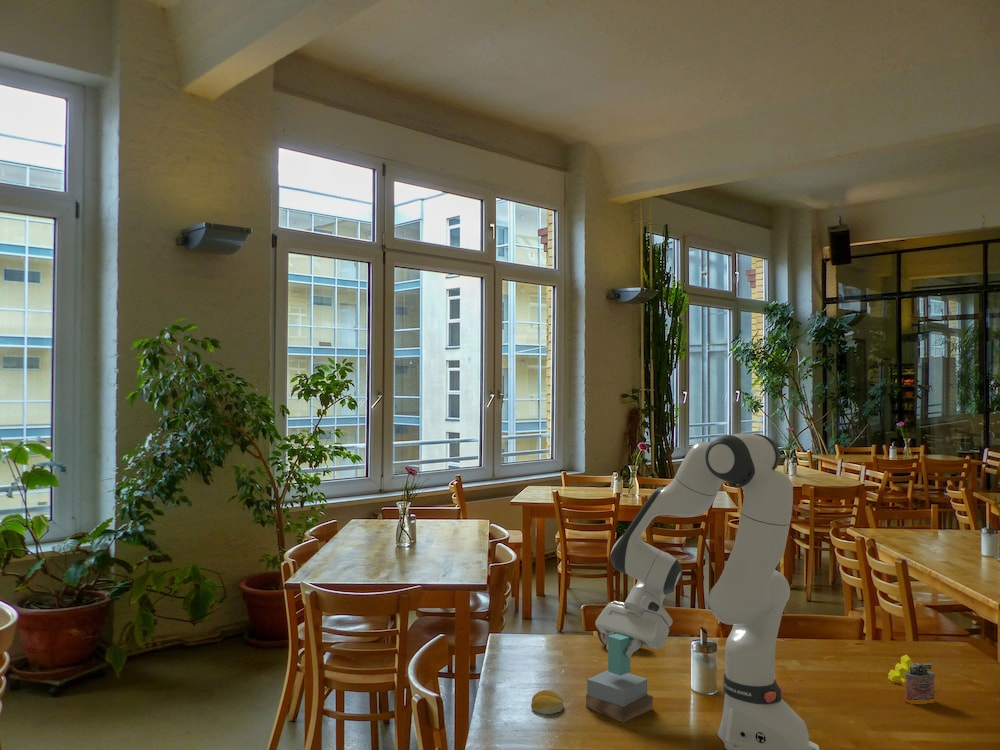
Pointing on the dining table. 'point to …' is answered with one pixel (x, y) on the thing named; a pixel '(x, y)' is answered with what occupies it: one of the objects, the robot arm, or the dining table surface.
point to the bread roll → (547, 702)
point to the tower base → (618, 711)
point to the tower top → (617, 688)
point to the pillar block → (618, 654)
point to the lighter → (920, 682)
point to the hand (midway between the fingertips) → (617, 653)
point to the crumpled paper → (901, 670)
